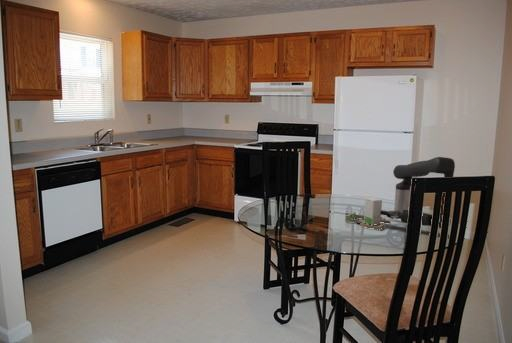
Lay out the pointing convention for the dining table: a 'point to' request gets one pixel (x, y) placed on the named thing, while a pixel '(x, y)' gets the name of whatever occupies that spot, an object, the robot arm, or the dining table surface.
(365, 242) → the dining table surface
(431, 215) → the robot arm
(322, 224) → the dining table surface
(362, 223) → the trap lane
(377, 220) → the skincare box
